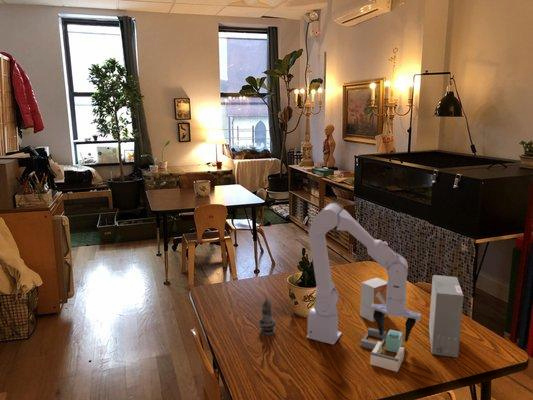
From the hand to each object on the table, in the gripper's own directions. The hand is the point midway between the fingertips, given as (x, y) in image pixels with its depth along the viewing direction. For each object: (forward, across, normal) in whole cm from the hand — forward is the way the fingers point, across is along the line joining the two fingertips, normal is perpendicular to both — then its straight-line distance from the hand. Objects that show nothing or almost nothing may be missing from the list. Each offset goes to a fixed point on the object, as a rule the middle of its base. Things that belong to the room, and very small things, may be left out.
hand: (393, 337), depth 132 cm
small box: (+4, +11, -18) cm, 21 cm away
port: (+4, 0, +8) cm, 8 cm away
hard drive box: (+4, -13, -10) cm, 17 cm away
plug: (+4, 0, 0) cm, 4 cm away
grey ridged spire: (+4, +40, +10) cm, 41 cm away
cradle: (+4, +6, 0) cm, 7 cm away
